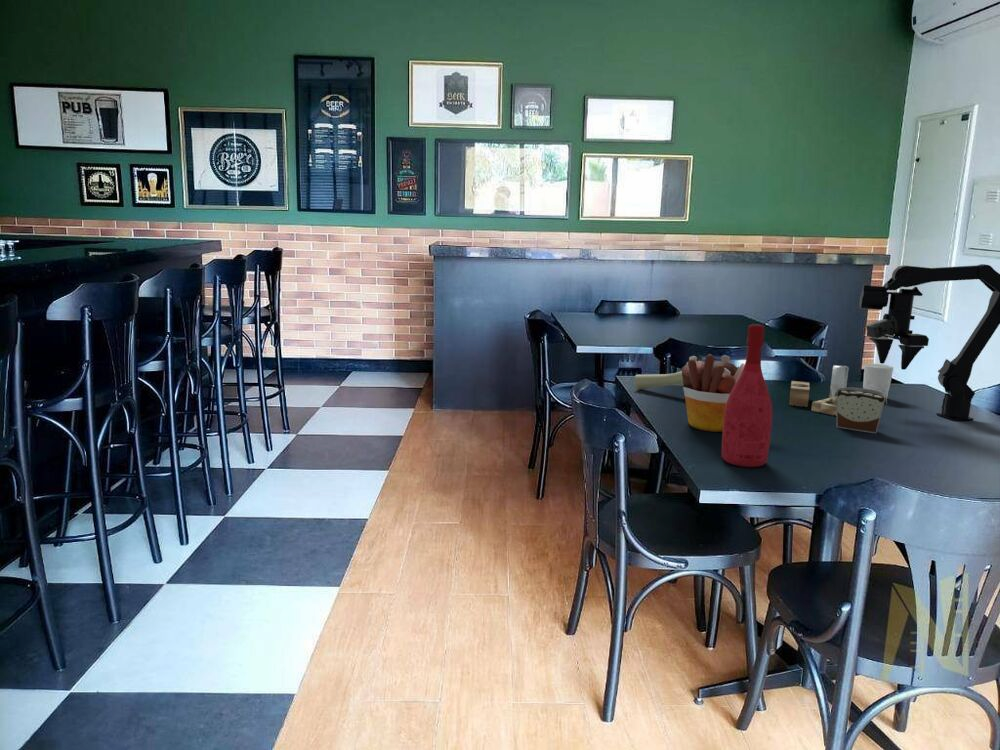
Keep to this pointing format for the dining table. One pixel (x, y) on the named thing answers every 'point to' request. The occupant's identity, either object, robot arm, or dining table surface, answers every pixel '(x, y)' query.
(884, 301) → the robot arm
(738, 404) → the wine bottle
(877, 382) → the white cup
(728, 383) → the bucket of meat
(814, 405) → the v cradle
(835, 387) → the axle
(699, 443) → the dining table surface
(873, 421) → the food container
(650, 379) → the flower vase
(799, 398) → the beam
